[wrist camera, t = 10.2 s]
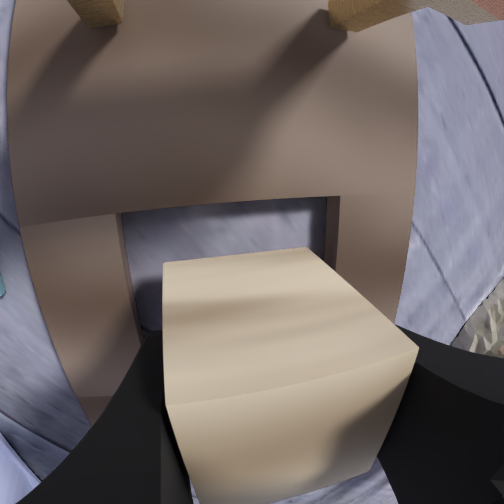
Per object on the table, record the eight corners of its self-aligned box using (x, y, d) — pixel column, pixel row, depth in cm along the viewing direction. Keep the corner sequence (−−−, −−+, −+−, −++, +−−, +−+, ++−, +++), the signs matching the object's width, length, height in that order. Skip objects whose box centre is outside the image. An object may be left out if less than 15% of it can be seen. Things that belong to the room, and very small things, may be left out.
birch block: (299, 357, 12) (369, 470, 7) (182, 376, 11) (204, 514, 6) (306, 246, 10) (419, 347, 5) (162, 262, 9) (165, 405, 4)
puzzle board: (369, 371, 16) (378, 383, 15) (96, 416, 13) (94, 431, 12) (391, -20, 9) (405, -27, 8) (33, -27, 6) (24, -37, 5)
